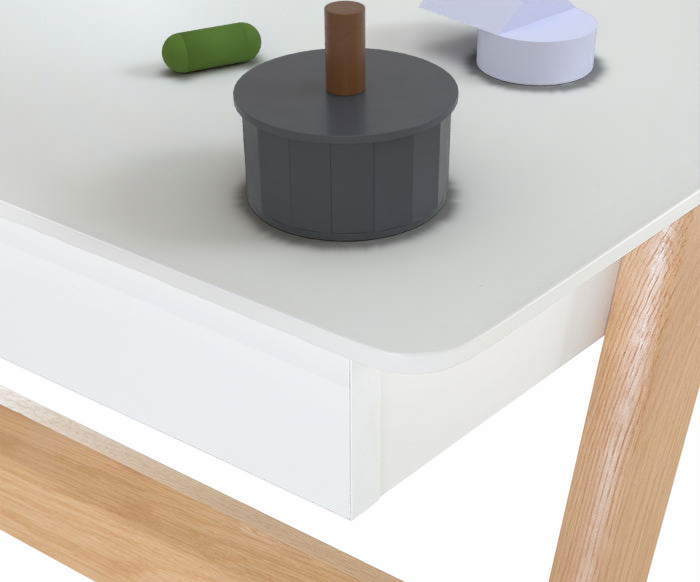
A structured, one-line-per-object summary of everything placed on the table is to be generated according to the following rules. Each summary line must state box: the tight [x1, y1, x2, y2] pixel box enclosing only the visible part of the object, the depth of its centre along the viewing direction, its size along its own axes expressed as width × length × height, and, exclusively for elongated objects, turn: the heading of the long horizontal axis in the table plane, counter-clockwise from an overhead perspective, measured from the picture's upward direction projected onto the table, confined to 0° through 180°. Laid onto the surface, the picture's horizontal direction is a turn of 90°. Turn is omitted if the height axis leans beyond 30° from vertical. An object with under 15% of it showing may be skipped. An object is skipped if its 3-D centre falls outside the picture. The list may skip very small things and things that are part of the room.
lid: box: [232, 0, 460, 144], centre depth 73 cm, size 14×14×6 cm
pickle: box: [161, 21, 262, 74], centre depth 95 cm, size 8×3×3 cm, turn 116°
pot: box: [241, 113, 452, 242], centre depth 77 cm, size 13×13×6 cm
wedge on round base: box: [418, 0, 598, 86], centre depth 95 cm, size 9×7×13 cm
